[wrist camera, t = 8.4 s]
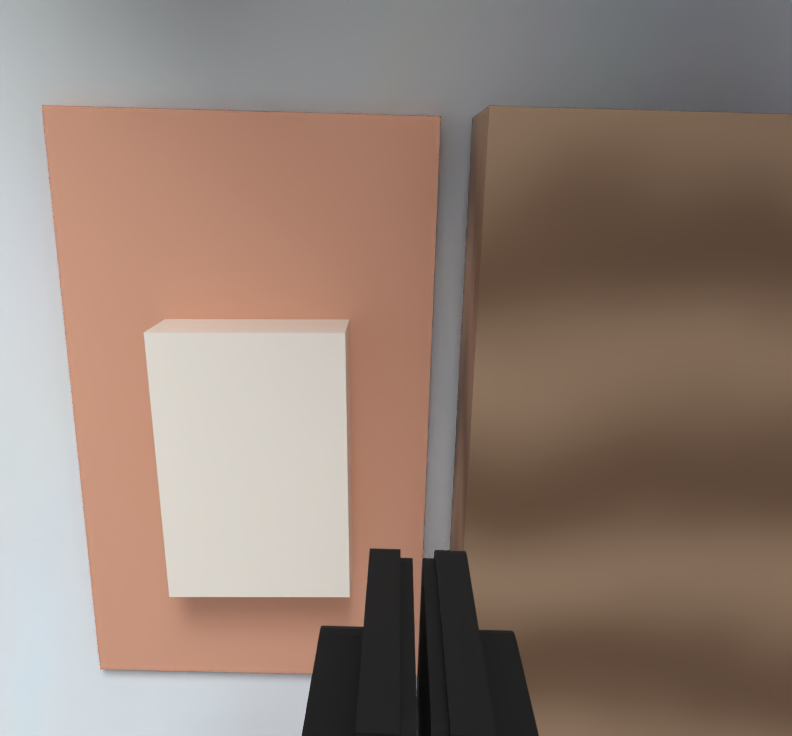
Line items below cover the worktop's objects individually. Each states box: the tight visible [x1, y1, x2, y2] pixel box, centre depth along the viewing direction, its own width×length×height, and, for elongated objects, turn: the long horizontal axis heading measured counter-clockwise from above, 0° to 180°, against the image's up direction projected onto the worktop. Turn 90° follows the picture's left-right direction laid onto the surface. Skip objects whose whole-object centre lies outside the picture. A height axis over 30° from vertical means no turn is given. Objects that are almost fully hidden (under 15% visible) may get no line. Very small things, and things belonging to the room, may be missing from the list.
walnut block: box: [450, 106, 792, 736], centre depth 22 cm, size 20×12×4 cm, turn 178°
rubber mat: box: [42, 105, 441, 676], centre depth 24 cm, size 20×12×1 cm, turn 178°
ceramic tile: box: [144, 319, 353, 597], centre depth 23 cm, size 9×6×2 cm, turn 0°
